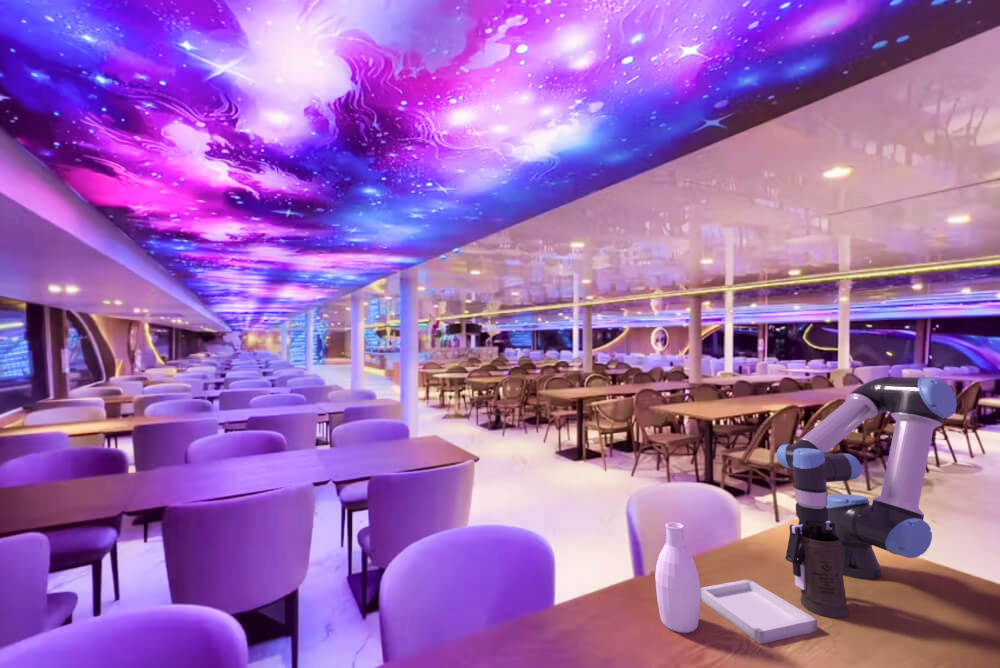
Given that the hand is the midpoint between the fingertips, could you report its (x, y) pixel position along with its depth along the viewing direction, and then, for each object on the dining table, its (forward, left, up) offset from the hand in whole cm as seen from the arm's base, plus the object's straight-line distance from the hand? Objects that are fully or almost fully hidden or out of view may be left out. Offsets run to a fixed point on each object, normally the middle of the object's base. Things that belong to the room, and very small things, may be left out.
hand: (815, 584), depth 126 cm
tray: (+21, -1, -5) cm, 21 cm away
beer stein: (-1, 0, -5) cm, 5 cm away
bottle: (+43, -3, -5) cm, 43 cm away
